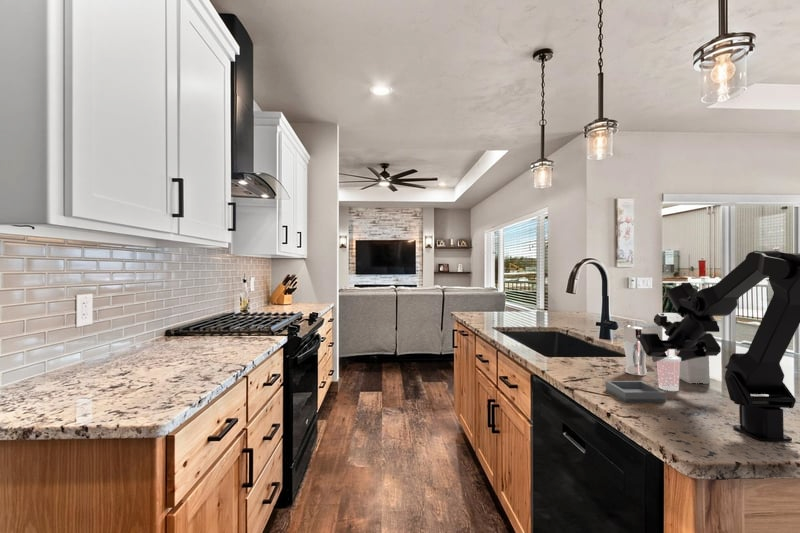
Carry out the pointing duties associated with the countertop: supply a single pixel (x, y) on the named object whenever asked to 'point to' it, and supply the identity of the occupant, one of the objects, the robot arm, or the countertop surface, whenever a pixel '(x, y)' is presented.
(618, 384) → the tray
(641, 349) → the beer glass
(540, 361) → the countertop surface
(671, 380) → the beverage cup
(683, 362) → the small box
